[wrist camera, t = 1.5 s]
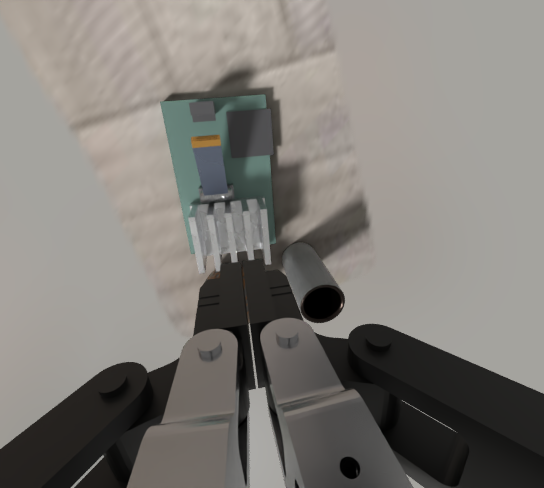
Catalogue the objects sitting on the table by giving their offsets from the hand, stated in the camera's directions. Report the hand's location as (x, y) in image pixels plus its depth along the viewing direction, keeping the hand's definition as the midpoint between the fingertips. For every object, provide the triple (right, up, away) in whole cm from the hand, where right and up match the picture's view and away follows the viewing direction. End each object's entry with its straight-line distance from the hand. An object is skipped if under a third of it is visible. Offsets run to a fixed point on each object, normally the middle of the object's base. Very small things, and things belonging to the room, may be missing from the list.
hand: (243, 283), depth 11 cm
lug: (-5, +14, +18) cm, 23 cm away
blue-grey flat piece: (-5, +9, +17) cm, 20 cm away
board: (-4, +9, +22) cm, 24 cm away
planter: (+4, 0, +27) cm, 28 cm away
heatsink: (-4, +4, +22) cm, 23 cm away
